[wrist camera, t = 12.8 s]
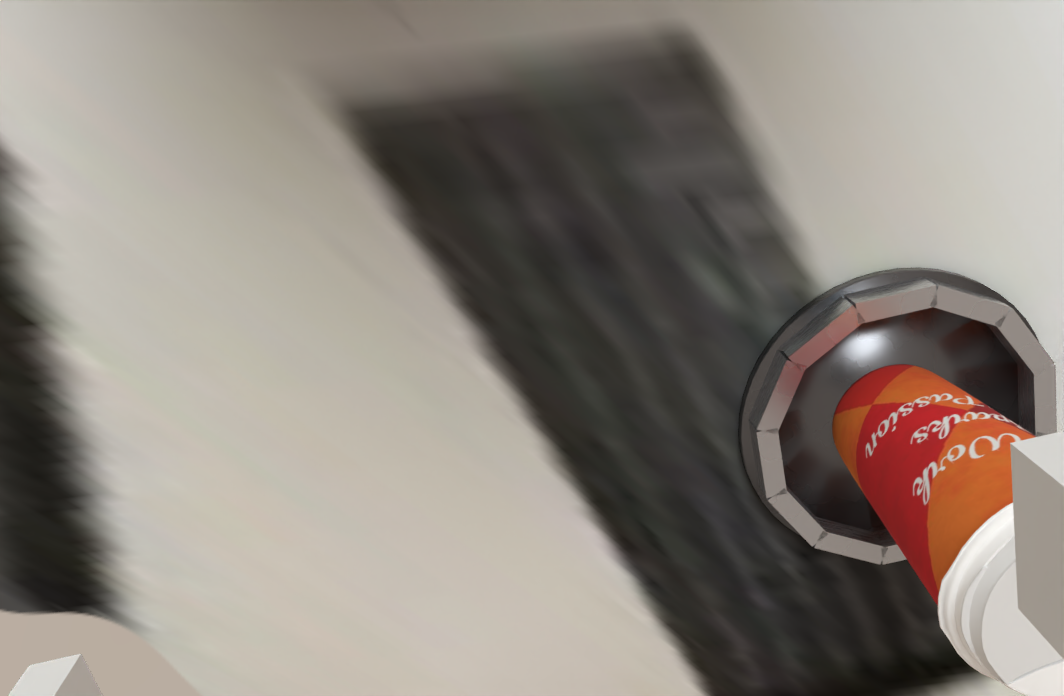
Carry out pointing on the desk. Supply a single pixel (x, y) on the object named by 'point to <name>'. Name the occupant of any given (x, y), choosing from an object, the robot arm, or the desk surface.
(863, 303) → the ring seat
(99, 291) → the desk surface
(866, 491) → the coffee cup
